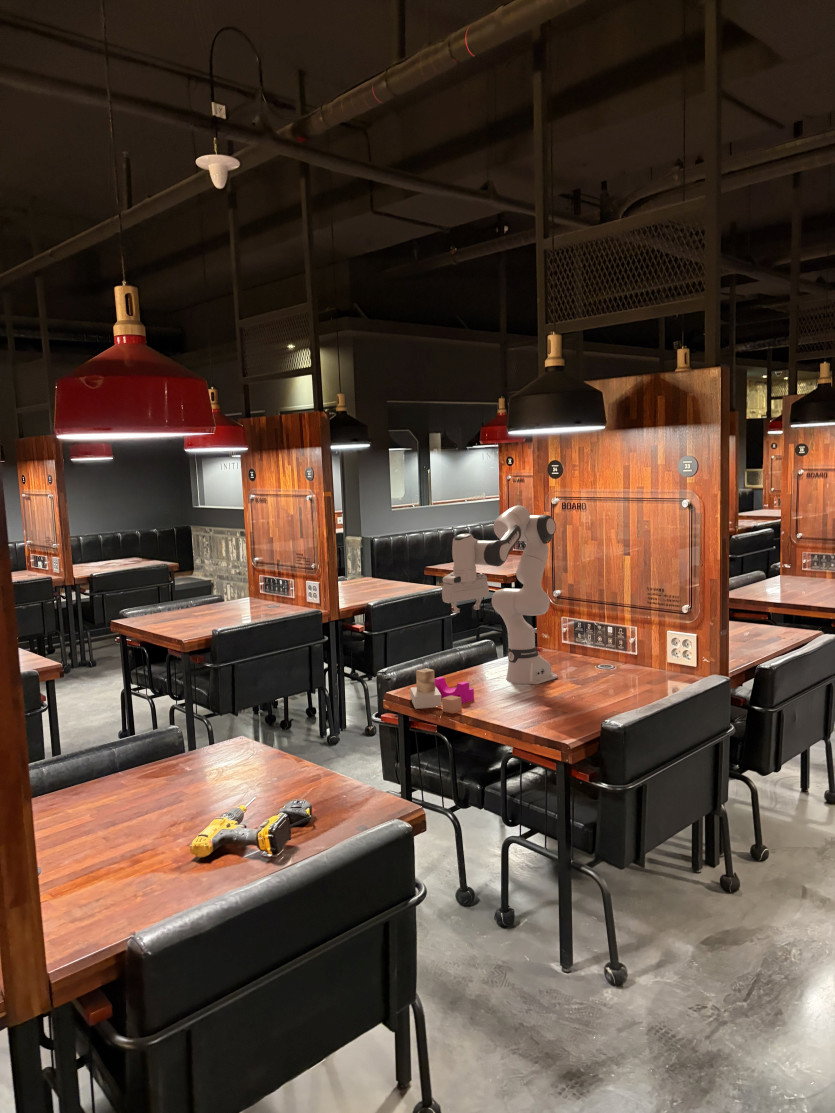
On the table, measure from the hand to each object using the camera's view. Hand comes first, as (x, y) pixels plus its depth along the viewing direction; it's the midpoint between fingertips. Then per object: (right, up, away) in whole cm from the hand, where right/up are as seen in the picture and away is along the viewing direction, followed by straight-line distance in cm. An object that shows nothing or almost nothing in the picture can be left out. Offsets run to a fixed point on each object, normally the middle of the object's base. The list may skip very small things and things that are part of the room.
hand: (466, 611), depth 310 cm
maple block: (-16, -30, -4) cm, 34 cm away
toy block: (-5, -34, +1) cm, 35 cm away
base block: (-16, -35, -4) cm, 39 cm away
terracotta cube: (-6, -36, -16) cm, 40 cm away
